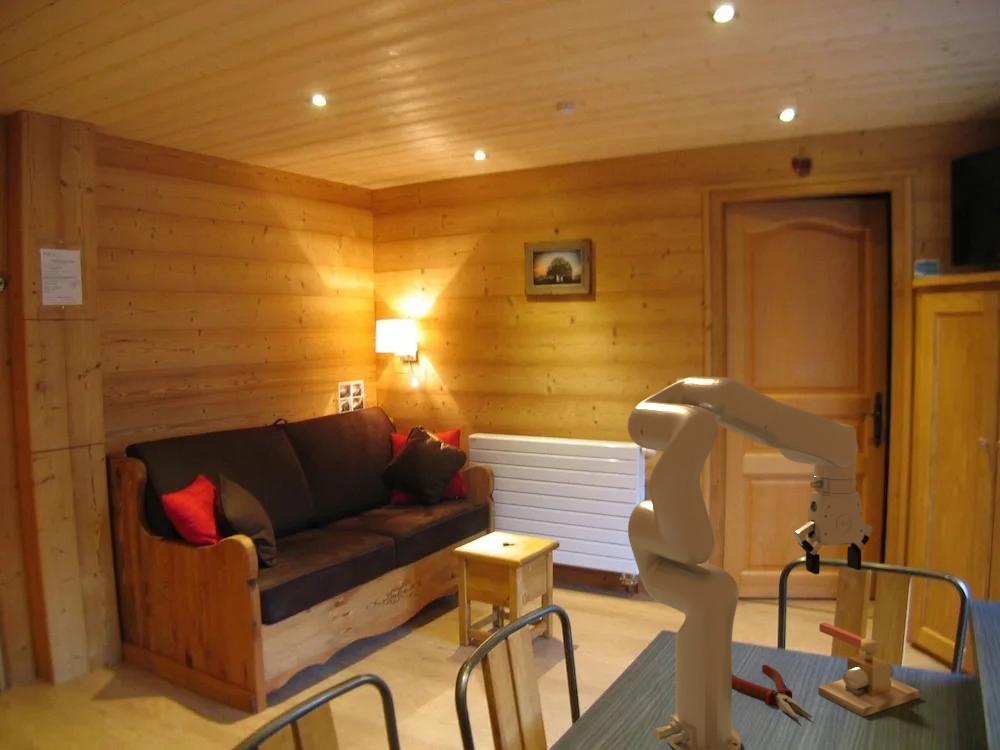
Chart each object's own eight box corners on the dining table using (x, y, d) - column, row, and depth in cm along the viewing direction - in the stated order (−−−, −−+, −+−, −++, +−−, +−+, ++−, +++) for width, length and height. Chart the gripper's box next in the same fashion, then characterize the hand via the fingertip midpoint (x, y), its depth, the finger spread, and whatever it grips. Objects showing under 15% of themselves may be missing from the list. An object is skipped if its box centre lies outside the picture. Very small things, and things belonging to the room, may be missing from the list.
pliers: (777, 729, 134) (777, 714, 134) (719, 680, 154) (719, 667, 153) (831, 720, 137) (831, 707, 137) (767, 673, 156) (767, 661, 156)
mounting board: (862, 716, 137) (862, 709, 137) (818, 694, 146) (818, 686, 146) (918, 697, 144) (918, 690, 144) (873, 676, 153) (873, 669, 153)
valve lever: (880, 651, 144) (880, 642, 144) (870, 654, 143) (870, 645, 143) (826, 629, 155) (826, 621, 155) (817, 632, 154) (817, 623, 154)
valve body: (863, 700, 140) (864, 662, 140) (838, 687, 145) (838, 651, 145) (898, 688, 145) (898, 651, 144) (872, 677, 150) (873, 641, 149)
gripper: (809, 491, 141) (808, 580, 142) (885, 486, 145) (883, 572, 146) (785, 484, 148) (784, 568, 149) (857, 479, 153) (856, 561, 154)
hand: (833, 570), depth 148 cm, fingers open, 9 cm apart
